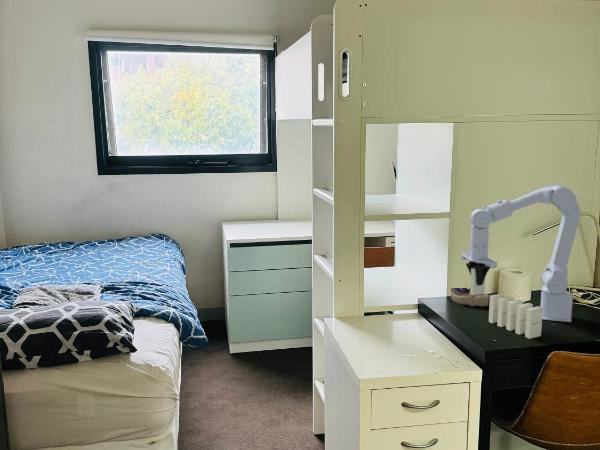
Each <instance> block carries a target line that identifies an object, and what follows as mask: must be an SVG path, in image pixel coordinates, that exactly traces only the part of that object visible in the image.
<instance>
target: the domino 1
mask: <svg viewBox="0 0 600 450" xmlns="http://www.w3.org/2000/svg"><path fill="white" fill-rule="evenodd" d="M469 286H470V294H471V295H478V294H485V290H486V289H485V288H486V278H485V279H484V282H483V285H479V286H478V285H477V282H476V271H475V268H471V275H470V285H469Z"/></svg>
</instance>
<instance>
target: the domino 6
mask: <svg viewBox="0 0 600 450" xmlns="http://www.w3.org/2000/svg"><path fill="white" fill-rule="evenodd" d="M542 313H543V308H542V307H540V305H538V306H533V308H528V309H527V313H526V329H525V333H524V337H525V338H526V337H527V338H526V339H529V340H531V339H534V338H538V337H541V336H542V327H543V326H542V323H543V319H542Z"/></svg>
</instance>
